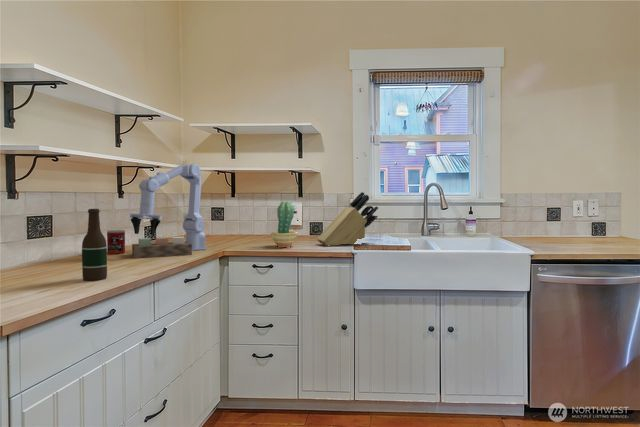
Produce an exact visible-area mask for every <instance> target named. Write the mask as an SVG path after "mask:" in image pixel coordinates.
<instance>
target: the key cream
mask: <svg viewBox="0 0 640 427" xmlns="http://www.w3.org/2000/svg"><path fill="white" fill-rule="evenodd" d="M171 240H172V241H171V242H172V244H185V241H186V236H185V237H184V236H172V237H171Z"/></svg>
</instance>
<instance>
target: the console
mask: <svg viewBox="0 0 640 427" xmlns="http://www.w3.org/2000/svg"><path fill="white" fill-rule="evenodd" d="M131 247H132V248H131V255H132V257H133V259H146V258H147V259H148V258H160V257H161V258H163V257H177V256H178V257H179V256H180V255H181V256H193V250H192V244H190V243H188V242H187V241H186V240H185V244H172V241H171V242H169V241H168V245H156V242H151V246H149V245H146V246H139V243H132V244H131Z"/></svg>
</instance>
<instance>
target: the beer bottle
mask: <svg viewBox="0 0 640 427" xmlns="http://www.w3.org/2000/svg"><path fill="white" fill-rule="evenodd" d="M87 213H88V221H87V222H88V223H87V232H86V234H85V236H84V237H83V240H82V243H81V261H82V262H81V263H82V264H81V265H82V266H81V267H82V268H81V269H82V270H81V271H82V280H83V281H85V282H97V281H99V282H100V281H103V280H106V279H107V277H108V255H107V254H108V252H107V238H106V237H105V235H104V234H103V233H102V230H101V223H100V208H88V209H87Z"/></svg>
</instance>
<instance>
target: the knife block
mask: <svg viewBox="0 0 640 427" xmlns="http://www.w3.org/2000/svg"><path fill="white" fill-rule="evenodd" d="M369 200H370V196H369V195H368V194H365V192H364V191H361V192H360V193H359V194H357V196H356V197H355V198H354V199H353V200H352V201H351V202H350V204H349V205H348V206H345V208H344V209H342V210H341V212H340V213H339V214H338V215H337V216H336V217H335V218H334V219H333V221H332V222H331V223H329V225H328V226H327V227H326V228H325V229H324V230H323V231H322V233H321V234H320V235H319V236H318V237H317V238H316V240H317V242H319V244H321V245H325V246H328V245H331V246H340V245H339V244H353V245H355V244H354V243H355V242H356V241H357V239H362V238H365V234H366V228H368V227H369V226H371V224H373V222H374V221H375V220H376V219H378V215H374V213H376V211H378V209H379V207H378V206H377V205H376V206H372V205H368V206H366V207H364V206H365V205H366V204H367V203H368V201H369ZM363 207H364V209H363V210H362V211H361V212H359V211H360V210H361V209H362V208H363Z"/></svg>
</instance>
